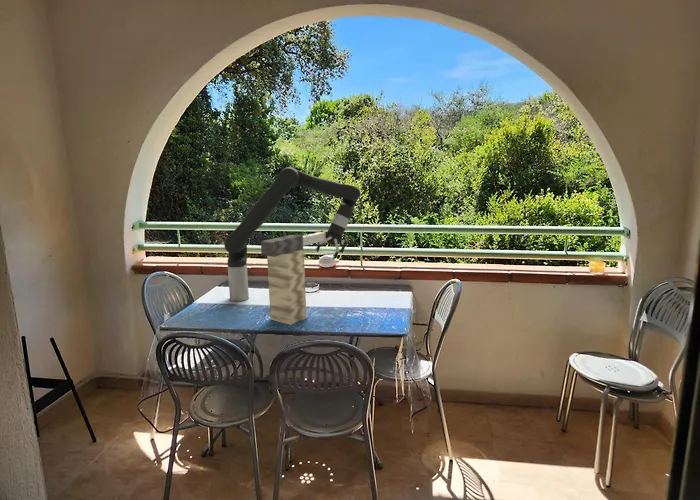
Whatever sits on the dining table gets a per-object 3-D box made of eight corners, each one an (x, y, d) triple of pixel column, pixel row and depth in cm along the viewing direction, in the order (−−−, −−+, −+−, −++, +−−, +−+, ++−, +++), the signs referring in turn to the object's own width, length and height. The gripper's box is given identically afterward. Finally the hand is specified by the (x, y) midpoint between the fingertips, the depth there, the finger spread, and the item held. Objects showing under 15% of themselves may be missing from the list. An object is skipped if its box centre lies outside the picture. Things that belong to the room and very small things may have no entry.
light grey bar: (289, 249, 192) (289, 240, 191) (283, 248, 194) (283, 239, 193) (325, 240, 211) (325, 232, 210) (319, 239, 213) (319, 232, 212)
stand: (280, 329, 186) (276, 243, 179) (260, 323, 193) (255, 240, 186) (310, 316, 201) (308, 236, 194) (291, 311, 208) (287, 233, 201)
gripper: (325, 218, 214) (311, 250, 214) (353, 230, 216) (339, 262, 216) (325, 219, 222) (311, 249, 222) (351, 230, 223) (338, 260, 223)
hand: (325, 255), depth 219 cm, fingers open, 8 cm apart
